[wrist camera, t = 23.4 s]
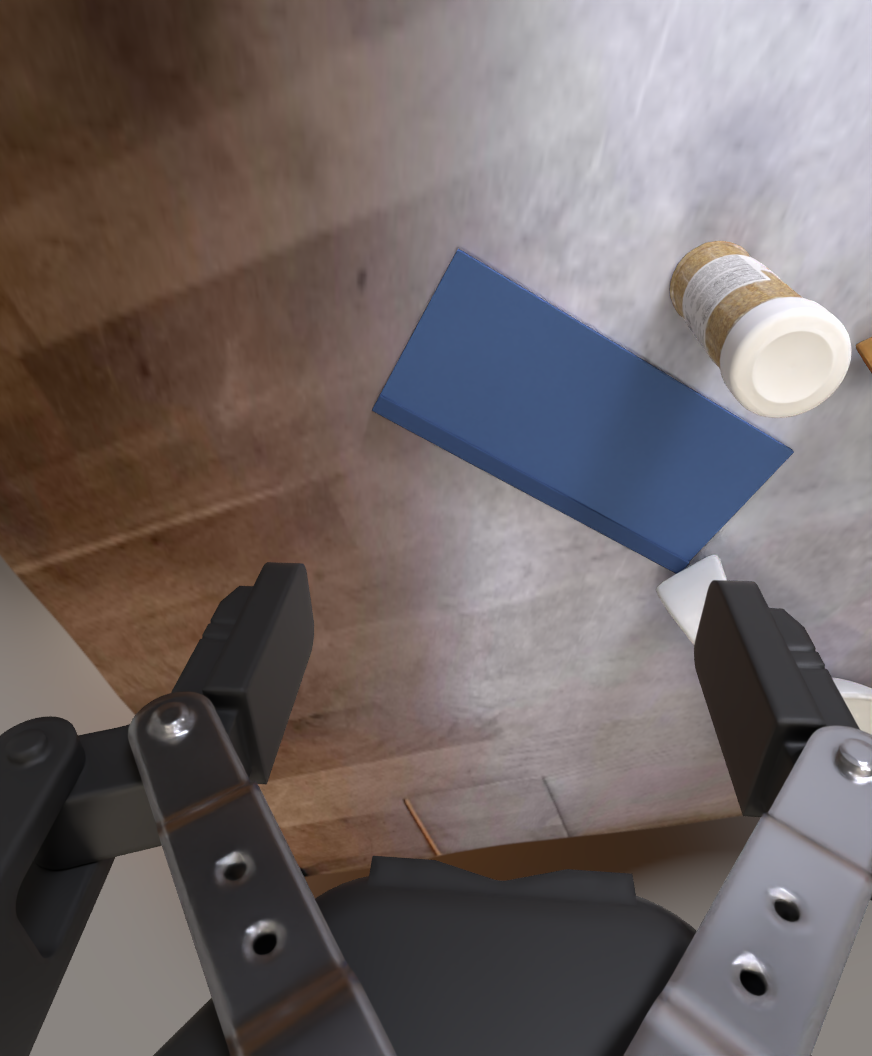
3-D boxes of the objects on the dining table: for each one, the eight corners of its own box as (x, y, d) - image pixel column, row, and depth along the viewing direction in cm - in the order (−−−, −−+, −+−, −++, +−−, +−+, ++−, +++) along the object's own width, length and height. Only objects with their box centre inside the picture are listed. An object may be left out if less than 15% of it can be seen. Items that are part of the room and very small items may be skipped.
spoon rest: (911, 713, 54) (962, 793, 48) (771, 772, 59) (802, 851, 53) (756, 520, 45) (795, 589, 40) (607, 608, 50) (622, 681, 44)
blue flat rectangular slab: (373, 407, 44) (371, 411, 44) (458, 248, 39) (457, 250, 38) (676, 570, 49) (678, 575, 48) (791, 449, 43) (795, 453, 43)
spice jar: (762, 301, 39) (864, 395, 28) (680, 335, 40) (746, 438, 29) (741, 222, 37) (844, 289, 25) (656, 261, 38) (717, 341, 27)
